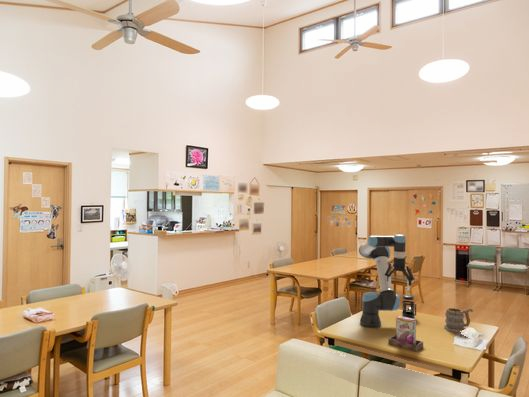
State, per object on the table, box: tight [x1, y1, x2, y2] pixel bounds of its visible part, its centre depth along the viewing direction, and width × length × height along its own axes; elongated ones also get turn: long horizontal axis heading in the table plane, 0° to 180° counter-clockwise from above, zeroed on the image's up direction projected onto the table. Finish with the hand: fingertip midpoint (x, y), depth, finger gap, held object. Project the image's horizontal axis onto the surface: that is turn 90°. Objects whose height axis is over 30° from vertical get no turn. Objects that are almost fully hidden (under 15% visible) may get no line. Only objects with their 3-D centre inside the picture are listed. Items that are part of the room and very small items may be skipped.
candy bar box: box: [395, 315, 417, 345], centre depth 241 cm, size 11×5×16 cm, turn 50°
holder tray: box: [387, 334, 424, 352], centre depth 241 cm, size 18×10×4 cm, turn 45°
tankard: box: [443, 307, 474, 333], centre depth 273 cm, size 20×13×15 cm, turn 91°
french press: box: [401, 287, 417, 319], centre depth 301 cm, size 12×9×23 cm
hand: (398, 288), depth 261 cm, fingers open, 13 cm apart
